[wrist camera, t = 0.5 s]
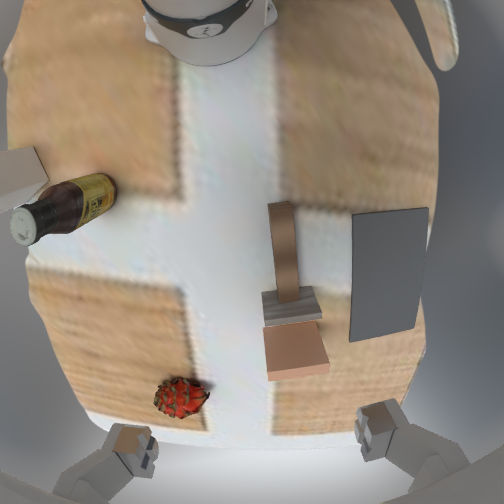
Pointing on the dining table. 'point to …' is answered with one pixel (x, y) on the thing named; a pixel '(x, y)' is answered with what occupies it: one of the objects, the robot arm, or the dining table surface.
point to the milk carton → (19, 177)
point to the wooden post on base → (287, 274)
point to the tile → (294, 351)
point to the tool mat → (386, 271)
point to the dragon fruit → (180, 398)
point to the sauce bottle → (63, 208)
